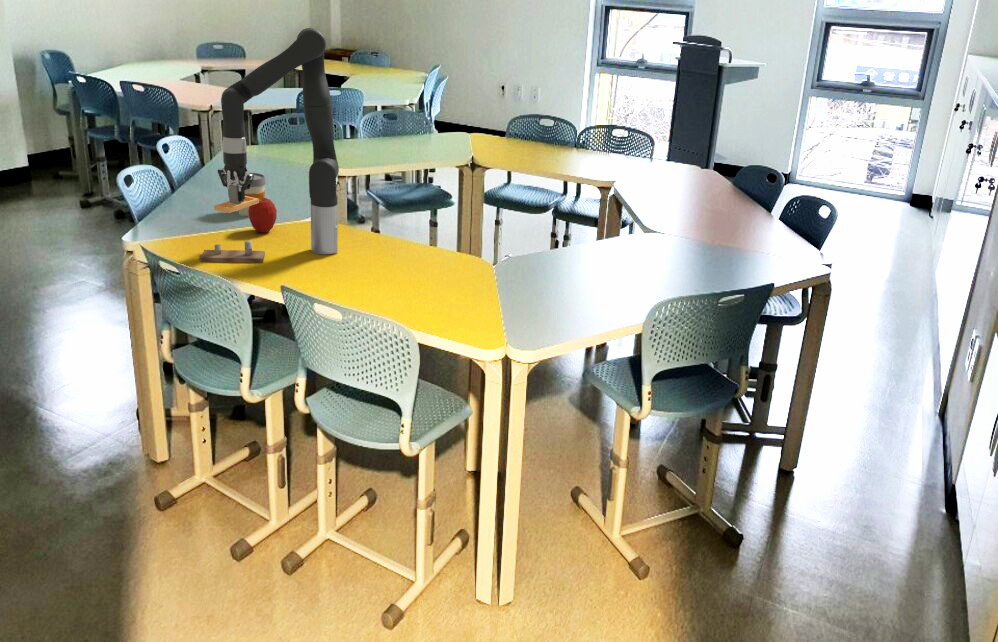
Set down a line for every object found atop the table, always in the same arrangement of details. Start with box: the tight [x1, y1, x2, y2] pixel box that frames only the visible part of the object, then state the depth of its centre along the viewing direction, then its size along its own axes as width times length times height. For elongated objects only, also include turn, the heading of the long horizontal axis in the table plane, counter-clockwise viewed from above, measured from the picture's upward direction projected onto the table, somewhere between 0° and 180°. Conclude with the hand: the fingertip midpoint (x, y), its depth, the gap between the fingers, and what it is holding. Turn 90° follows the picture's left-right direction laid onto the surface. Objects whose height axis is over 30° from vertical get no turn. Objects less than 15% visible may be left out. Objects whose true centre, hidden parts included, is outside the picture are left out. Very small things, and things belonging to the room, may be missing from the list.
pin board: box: [200, 240, 266, 264], centre depth 287 cm, size 20×8×6 cm, turn 100°
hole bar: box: [213, 183, 259, 214], centre depth 288 cm, size 16×6×8 cm, turn 158°
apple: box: [248, 197, 277, 234], centre depth 315 cm, size 10×10×14 cm
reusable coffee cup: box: [235, 172, 267, 217], centre depth 335 cm, size 13×13×15 cm
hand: (236, 200), depth 289 cm, fingers closed on hole bar, 3 cm apart
